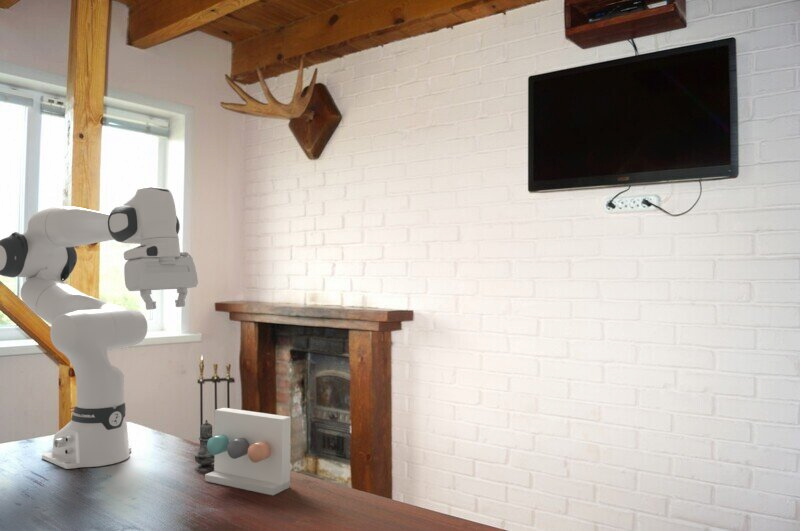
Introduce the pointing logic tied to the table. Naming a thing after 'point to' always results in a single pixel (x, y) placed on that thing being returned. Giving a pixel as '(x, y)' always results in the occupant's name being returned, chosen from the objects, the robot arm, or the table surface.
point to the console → (242, 471)
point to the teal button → (217, 444)
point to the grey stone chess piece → (204, 449)
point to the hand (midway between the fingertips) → (166, 308)
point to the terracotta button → (259, 451)
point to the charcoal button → (238, 448)
